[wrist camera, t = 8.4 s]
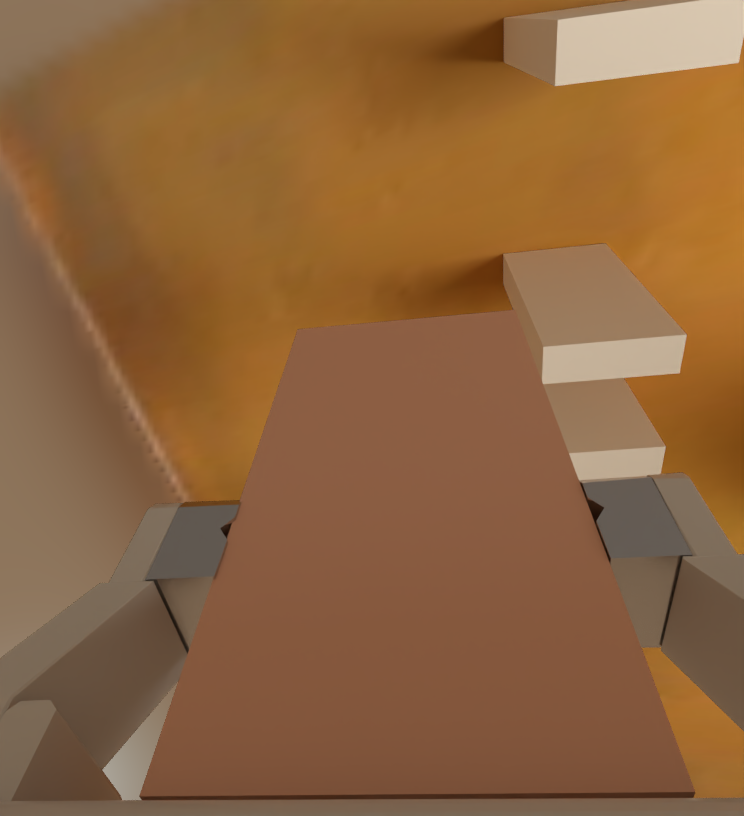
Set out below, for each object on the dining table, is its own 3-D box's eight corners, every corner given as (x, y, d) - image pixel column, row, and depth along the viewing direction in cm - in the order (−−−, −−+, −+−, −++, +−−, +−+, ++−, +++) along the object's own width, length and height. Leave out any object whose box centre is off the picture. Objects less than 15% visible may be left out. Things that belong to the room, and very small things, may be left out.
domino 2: (602, 274, 30) (679, 373, 22) (503, 283, 31) (541, 384, 23) (605, 243, 30) (687, 334, 21) (503, 253, 30) (543, 346, 22)
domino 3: (594, 359, 33) (659, 477, 25) (503, 367, 34) (537, 485, 25) (596, 333, 32) (665, 446, 24) (502, 342, 33) (538, 455, 24)
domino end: (624, 46, 25) (738, 62, 17) (503, 62, 25) (555, 86, 17) (629, 0, 24) (751, -7, 16) (503, 17, 25) (557, 20, 16)
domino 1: (514, 371, 14) (667, 869, 6) (310, 387, 15) (188, 867, 6) (515, 309, 13) (695, 792, 5) (297, 329, 14) (139, 797, 6)
